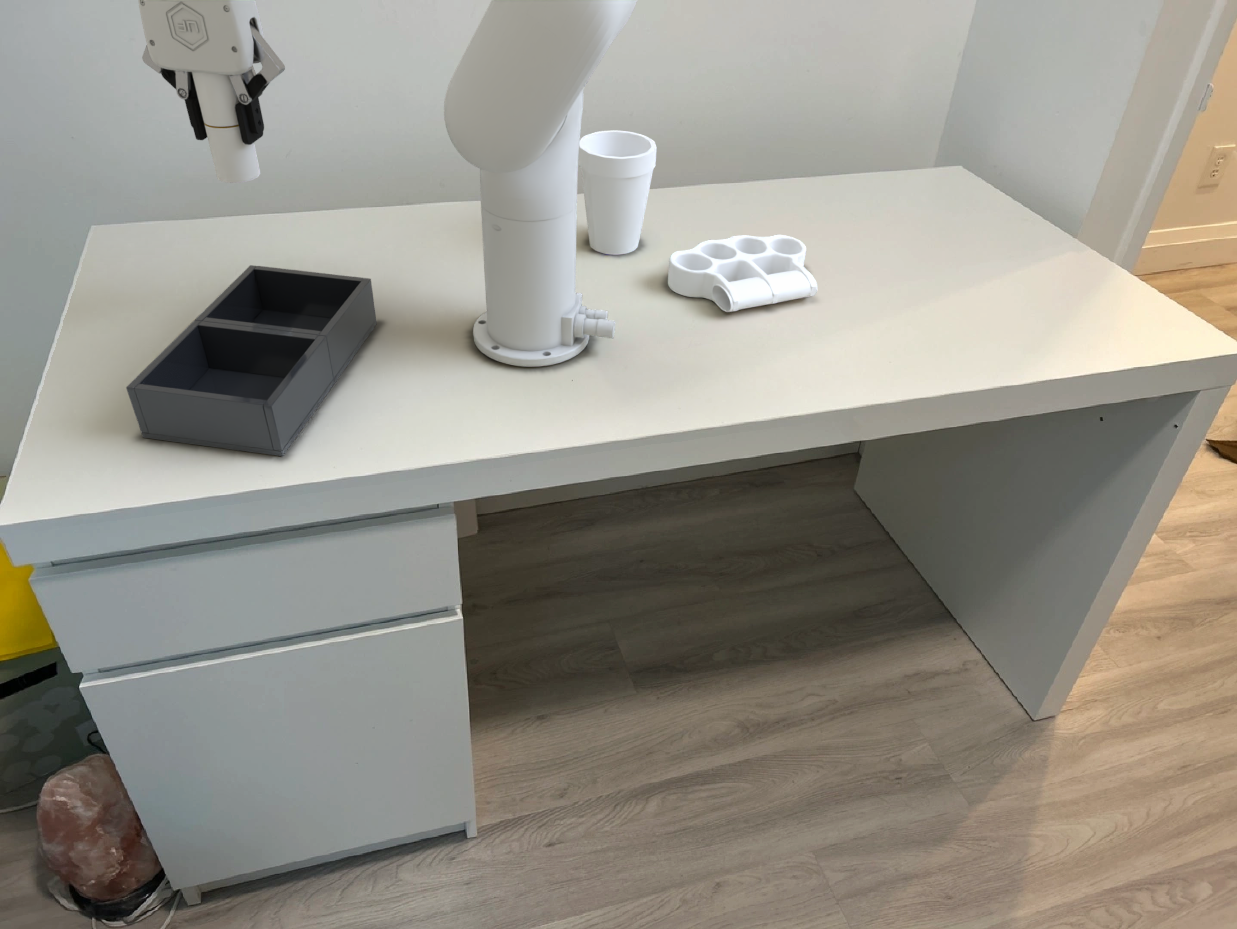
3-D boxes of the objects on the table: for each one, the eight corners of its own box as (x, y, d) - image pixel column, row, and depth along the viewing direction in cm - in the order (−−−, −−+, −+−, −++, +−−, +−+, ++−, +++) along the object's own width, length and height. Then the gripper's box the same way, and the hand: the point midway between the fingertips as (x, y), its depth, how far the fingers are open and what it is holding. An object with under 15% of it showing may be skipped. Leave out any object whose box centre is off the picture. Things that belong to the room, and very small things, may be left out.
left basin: (334, 384, 96) (326, 335, 93) (282, 456, 87) (271, 406, 84) (207, 367, 98) (194, 319, 94) (142, 437, 88) (125, 387, 85)
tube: (247, 184, 98) (212, 27, 88) (208, 180, 98) (170, 24, 89) (268, 169, 101) (236, 16, 92) (231, 165, 102) (196, 13, 92)
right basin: (377, 324, 106) (371, 278, 102) (334, 384, 96) (326, 335, 93) (260, 310, 107) (250, 264, 104) (207, 367, 98) (194, 319, 94)
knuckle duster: (704, 324, 108) (649, 268, 119) (838, 298, 114) (774, 246, 125) (707, 298, 106) (651, 242, 117) (843, 273, 112) (778, 222, 123)
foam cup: (663, 240, 125) (670, 141, 117) (625, 267, 119) (630, 164, 111) (602, 221, 129) (605, 124, 121) (563, 246, 123) (563, 146, 114)
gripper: (72, -63, 84) (133, 143, 95) (252, -52, 82) (292, 158, 93) (122, -78, 90) (173, 118, 101) (290, -67, 88) (324, 132, 99)
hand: (230, 135), depth 97 cm, fingers closed on tube, 4 cm apart
